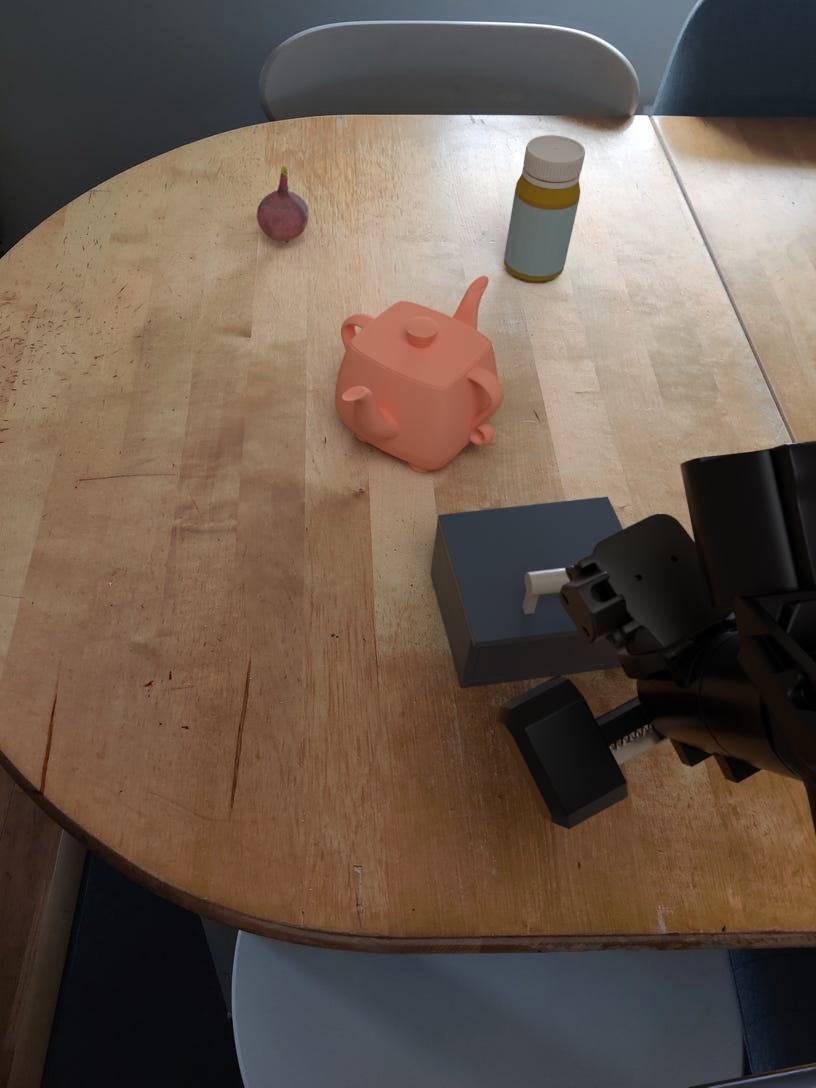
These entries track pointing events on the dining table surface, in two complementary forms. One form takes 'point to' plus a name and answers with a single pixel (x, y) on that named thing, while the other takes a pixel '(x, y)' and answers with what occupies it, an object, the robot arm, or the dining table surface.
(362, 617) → the dining table surface
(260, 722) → the dining table surface
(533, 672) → the box
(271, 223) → the vegetable
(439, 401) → the teapot
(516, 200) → the bottle
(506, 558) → the lid
